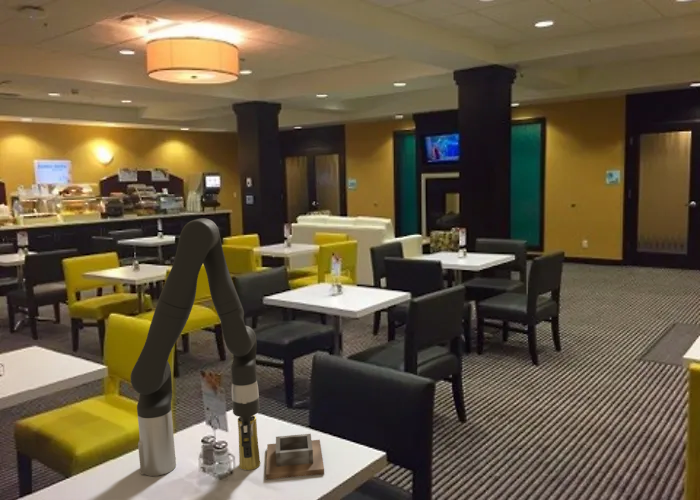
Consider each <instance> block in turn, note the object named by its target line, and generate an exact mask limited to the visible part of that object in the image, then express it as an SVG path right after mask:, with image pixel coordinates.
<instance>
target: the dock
mask: <svg viewBox="0 0 700 500" xmlns="http://www.w3.org/2000/svg"><path fill="white" fill-rule="evenodd" d="M321 446H322V445H321V440H320V439H312V435H311V433H305V434H304V433H303V434H291V435H279V436H275V443H268V444H267V446H266V447H267V449H266V450H267V451H266V466H265V467H266V468H265V470H266V471H265V472H266V473H265V475H266V476H265V477H266V480H267V481H268V480H277V479H285V478H287V479H288V478H297V477H308V476H317V475H319V476H320V475H325V466H324V458H323V453H322V452H323V451H322V447H321Z"/></svg>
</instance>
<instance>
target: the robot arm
mask: <svg viewBox="0 0 700 500" xmlns="http://www.w3.org/2000/svg"><path fill="white" fill-rule="evenodd" d="M202 266H203V267H204V270H205V273H206V276H207V277H206V278H207V282H208V283H207V284H208V287H209V293H210V297H211V301H212V303H213V306H214V309H215V311H216V313H217V316H218V319H219V321H220V326H221V330H222V335H223V339H224V343H225V346H226V348H227V350H228V351H229V353H231V354H232V356H233V359H232V363H231V365H230V366H231V367H230V376H231V403H232V414H233V415H234V416H236V417H238V418H239V417H240V421H241V422H242V425H241V423H240V429H241V438H242V444H241V445H242V447H243V450H244V458H251V457H252V448H251V444H252V442H251V437H252V436H253V426H254V422H253V423H252V424H251V425H250V421H252V420H254V416H256V415H257V414H258V413H259V412H260V396H259V392H260V391H259V386H258V377H257V375H258V374H257V367H256V360H257V347H258V345H257V335H256V332H255V330H254V329H253V328H252V327H250V326H248V325H246V323H245V320H244V318H245V317H244V316H245V311H244V308H243V305H242V302H241V300H240V297H239V295H238V292H237V290H236V286H235V284H234V282H233V280H232V276H231V274H230V271H229V268H228V265H227V261H226V256H225V254H224V250H223V245H222V240H221V236H220V229H219V227H218V226H217V224H216V223H215V222H214V221H213V220H211V219H208V218H203V217H201V218H196V219H193V220H190V221H189V222H187V223H186V224H185V225H184V226H183V227H182V229H181V231H180V235H179V239H178V243H177V248H176V253H175V256H174V260H173V264H172V266H171V267H170V268H171V269H170V271H169V273H168V275H167V278H166V280H165V282H164V285H163V287H162V289H161V292H160V295H159V297H158V300H157V303H156V306H155V309H154V313H153V316H152V319H151V322H150V325H149V327H148V328H149V329H148V331H147V336H146V339H145V342H144V345H143V347H142V349H141V351H140V354H139V356H138V358H137V360H136V362H135V364H134V366H133V368H132V370H131V372H130V384H131V386H132V389H133V390H134V391H135V392H136V393H138V394H139V397H138V401H137V405H136V413H137V423H138V424H137V425H138V432H139V433H138V434H139V440H138V443H137V447H138V457H139V467H140V475H145V476H146V475H147V476H151V477H157V476H163V475H166V474H169V473H170V472H172V471H173V470H174V469H175V468H176V466H177V461H176V460H177V458H176V450H175V449H176V448H175V439H174V438H175V437H174V425H173V424H174V423H173V413H172V401H173V382H172V379H173V378H172V369H171V368H172V367H171V365H170V363H169V361H168V360H169V357H170V355H171V352H172V350H173V348H174V346H175V344H176V342H177V341H178V340H179V337H181V334H182V332H183V330H184V329H185V327H186V325H187V322H188V320H189V317H190V316H191V315H190V314H191V313H192V310H193V307H194V304H195V303H194V302H195V300H196V293H197V287H198V278H199V274H200V271H201V268H202ZM252 415H254V416H252ZM250 430H251V433H250ZM244 438H249V441H244Z"/></svg>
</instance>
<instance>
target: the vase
mask: <svg viewBox="0 0 700 500" xmlns="http://www.w3.org/2000/svg"><path fill="white" fill-rule="evenodd" d="M252 416H254V420H252V421H250V425H251V424H252V423H253V422H254V426H253V436H252V437H251V442H252V444H251V448H252V457H251V458H244V450H243V447H242V445H241V444H242V438H241V429H240V423H241V425H242V422H241V421H240V417H239V416H238V418H237V427H238V428H237V430H238V453H239V454H238V455H239V457H238V458H239V464H238V466H239V468H240V469H241V470H244V471H252V470H255V469H257V468H258V467H260V465H261V459H260V449H259V438H258V425H257V417H256V415H252ZM250 433H251V430H250ZM244 441H249V438H244Z"/></svg>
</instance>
